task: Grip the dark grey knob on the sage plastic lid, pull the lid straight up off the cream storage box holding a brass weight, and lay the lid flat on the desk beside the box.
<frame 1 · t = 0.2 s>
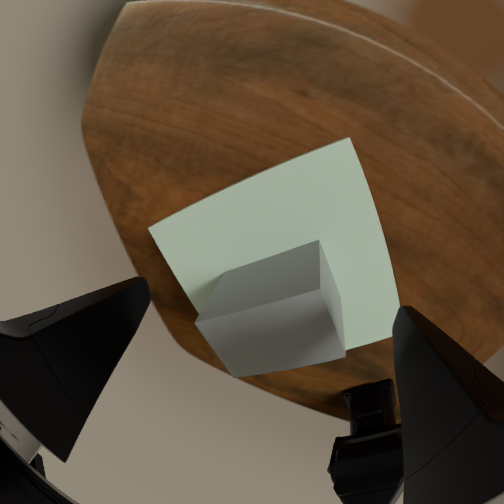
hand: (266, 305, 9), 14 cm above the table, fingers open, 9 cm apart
lid: (284, 276, 17), point 6 cm above the table, touching box
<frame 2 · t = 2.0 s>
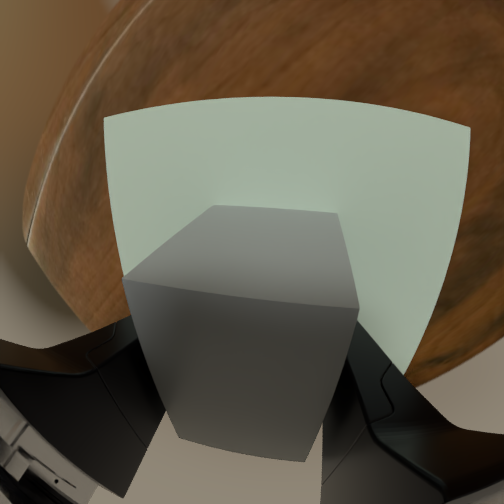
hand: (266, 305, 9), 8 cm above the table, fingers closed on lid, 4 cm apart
lid: (274, 276, 11), point 6 cm above the table, touching box, gripper
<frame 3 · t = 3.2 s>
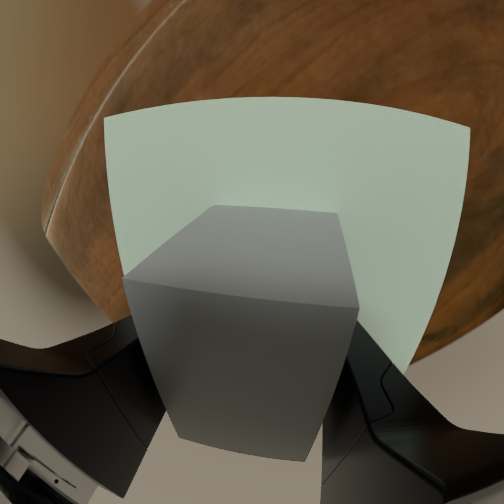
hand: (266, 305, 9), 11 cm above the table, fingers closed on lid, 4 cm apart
lid: (275, 276, 11), point 9 cm above the table, touching gripper
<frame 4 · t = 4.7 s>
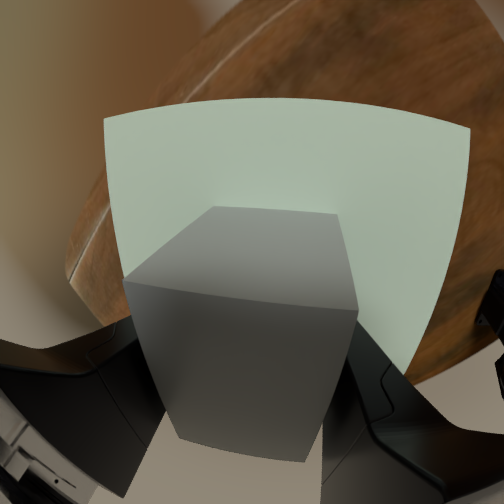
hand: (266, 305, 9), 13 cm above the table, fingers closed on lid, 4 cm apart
lid: (274, 277, 11), point 11 cm above the table, touching gripper
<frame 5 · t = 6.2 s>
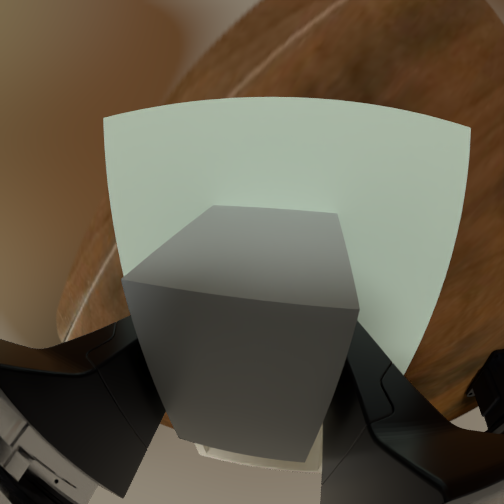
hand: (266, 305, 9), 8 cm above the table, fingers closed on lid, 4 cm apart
lid: (274, 276, 11), point 6 cm above the table, touching gripper
box: (275, 388, 22), on the table
when the fingers open (4 cm above the table, at t = 7.5 s): lid drops 2 cm, point 1 cm above the table.
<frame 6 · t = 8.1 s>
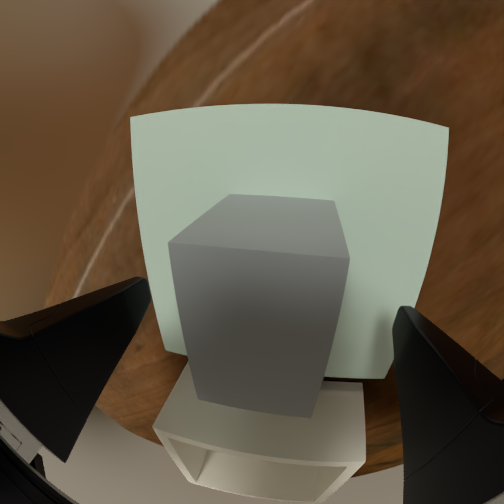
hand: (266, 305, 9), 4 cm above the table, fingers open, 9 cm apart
lid: (281, 257, 12), point 1 cm above the table
box: (269, 419, 19), on the table
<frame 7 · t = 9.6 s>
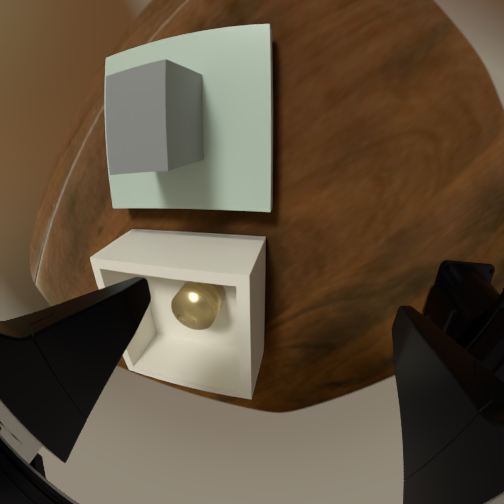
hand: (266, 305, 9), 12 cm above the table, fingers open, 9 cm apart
lid: (181, 119, 17), point 1 cm above the table
brass weight: (205, 291, 23), point 1 cm above the table, touching box
box: (198, 294, 24), on the table
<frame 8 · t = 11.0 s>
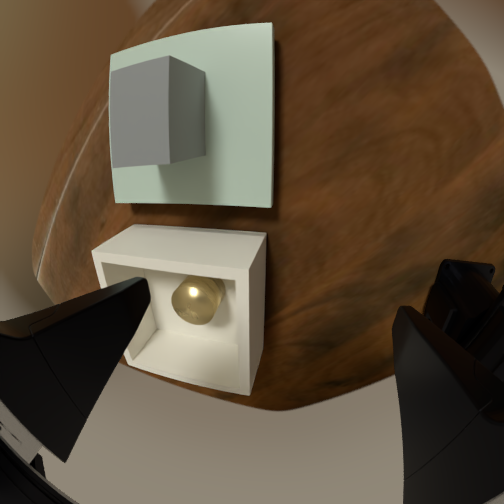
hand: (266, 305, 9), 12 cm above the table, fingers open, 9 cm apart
lid: (184, 115, 18), point 1 cm above the table
brass weight: (205, 286, 23), point 1 cm above the table, touching box
box: (199, 290, 24), on the table
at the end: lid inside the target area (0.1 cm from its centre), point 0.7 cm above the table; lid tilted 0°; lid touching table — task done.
